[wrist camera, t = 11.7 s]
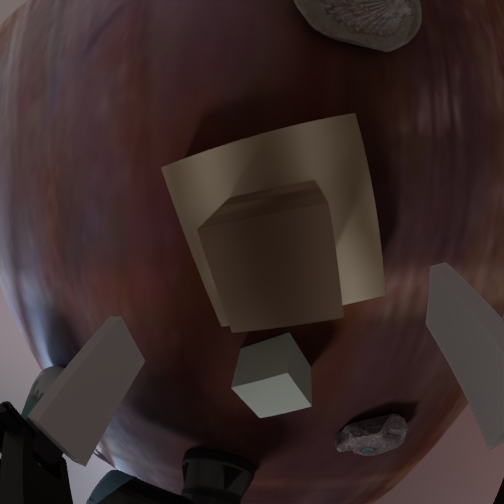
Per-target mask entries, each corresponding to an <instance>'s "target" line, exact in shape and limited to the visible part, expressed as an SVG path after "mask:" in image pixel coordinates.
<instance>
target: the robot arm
mask: <svg viewBox="0 0 504 504" xmlns="http://www.w3.org/2000/svg"><path fill="white" fill-rule="evenodd" d="M426 326H427V327H428V329H429V331H430V332H431V334H432V336H433V337H434V339H435V341H436V342H437V344H438V346H439V347H440V349H441V351H442V353H443V354H444V356H445V358H446V360H447V362H448V363H449V365H450V367H451V369H452V371H453V373H454V375H455V377H456V378H457V380H458V382H459V384H460V386H461V388H462V390H463V392H464V394H465V396H466V398H467V400H468V403H469V405H470V407H471V409H472V411H473V413H474V416H475V418H476V420H477V422H478V425H479V427H480V429H481V432H482V434H483V437H484V439H485V442H486V444H487V447H488V450H491V449H493V448H494V447H496V446H498V445H500V444H501V443H503V442H504V320H503V319H502V318H501V317H500V316H499V315H498V314H497V313H496V312H495V311H494V309H493V308H492V307H491V306H490V305H489V304H488V303H487V302H486V301H485V300H484V299H483V298H482V297H481V296H480V295H479V294H478V293H477V292H476V291H475V290H474V289H473V288H472V287H471V286H470V285H469V284H468V283H467V282H466V281H465V280H464V279H463V278H462V277H461V276H460V275H459V274H458V273H457V272H456V271H455V270H454V269H453V268H451V267H450V266H449V265H448V264H447V263H446V262H445V263H441V264H437V265H433V266H430V276H429V293H428V305H427V315H426ZM144 363H145V360H144V358H143V356H142V354H141V353H140V351H139V349H138V347H137V345H136V344H135V342H134V340H133V338H132V336H131V334H130V332H129V331H128V329H127V327H126V325H125V323H124V321H123V319H122V317H121V316H114V317H109V318H108V319H107V320H106V321H105V322H104V324H103V325H102V326H101V327H100V328H99V329H98V330H97V331H96V333H95V334H94V335H93V336H92V337H91V338H90V339H89V341H88V342H87V343H86V344H85V345H84V346H83V347H82V349H81V350H80V351H79V352H78V353H77V354H76V356H75V357H74V358H73V359H72V360H71V362H70V363H69V364H68V365H67V366H66V368H65V369H64V370H63V371H62V373H61V374H60V375H59V376H58V377H57V379H56V380H55V381H54V382H53V384H52V385H51V386H50V387H49V389H48V390H47V391H46V393H45V394H44V395H43V396H42V398H41V399H40V400H39V402H38V403H37V404H36V406H35V407H34V408H33V409H32V411H31V412H30V413H29V415H28V418H27V419H26V420H25V419H24V418H23V417H22V416H21V415H20V414H19V413H18V411H17V410H16V409H15V408H14V407H13V406H12V404H11V403H10V402H8V401H6V402H3V403H1V404H0V453H1V454H2V456H1V459H0V504H73V501H72V495H71V490H70V484H69V478H68V471H67V465H66V464H67V463H66V460H65V459H64V458H63V457H62V455H63V453H64V454H65V455H67V456H68V457H69V458H70V459H71V460H72V461H74V462H76V463H79V464H81V465H83V466H86V465H87V463H88V461H89V459H90V457H91V455H92V454H93V452H94V450H95V448H96V446H97V444H98V443H99V441H100V439H101V437H102V435H103V433H104V432H105V430H106V428H107V426H108V425H109V423H110V421H111V419H112V417H113V416H114V414H115V412H116V410H117V409H118V407H119V405H120V403H121V402H122V400H123V398H124V396H125V395H126V393H127V391H128V390H129V388H130V386H131V384H132V383H133V381H134V379H135V378H136V376H137V374H138V373H139V371H140V369H141V368H142V366H143V364H144ZM182 472H183V489H182V493H181V495H178V494H175V493H172V492H169V491H167V490H164V489H161V488H159V487H156V486H154V485H151V484H149V483H147V482H144V481H142V480H140V479H138V478H137V477H135V476H131V475H129V474H126V473H124V472H122V471H119V470H111V471H109V472H108V473H107V474H106V475H105V476H104V477H103V478H102V479H101V480H100V482H99V483H98V484H97V486H96V487H95V489H94V490H93V492H92V493H91V496H90V497H89V499H88V500H87V502H86V504H240V503H241V499H242V497H243V495H244V494H245V492H246V491H247V489H248V487H249V486H250V484H251V482H252V481H253V479H254V474H255V467H254V466H253V465H252V464H251V463H249V462H248V461H246V460H244V459H242V458H239V457H236V456H233V455H230V454H226V453H222V452H216V451H210V450H191V451H188V452H186V453H185V455H184V458H183V461H182ZM493 504H504V479H503V481H502V484H501V486H500V489H499V492H498V494H497V496H496V498H495V501H494V503H493Z"/></svg>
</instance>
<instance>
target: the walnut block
mask: <svg viewBox="0 0 504 504" xmlns="http://www.w3.org/2000/svg"><path fill="white" fill-rule="evenodd" d="M197 232H198V235H199V238H200V241H201V244H202V247H203V250H204V253H205V257H206V260H207V263H208V266H209V269H210V272H211V275H212V278H213V280H214V283H215V286H216V289H217V292H218V295H219V298H220V301H221V304H222V306H223V309H224V312H225V315H226V318H227V320H228V323H229V326H230V329H231V331H232V333H236V332H246V331H255V330H264V329H272V328H280V327H287V326H295V325H301V324H308V323H315V322H321V321H327V320H333V319H339V318H344V317H343V306H342V296H341V287H340V278H339V270H338V262H337V254H336V247H335V240H334V233H333V227H332V221H331V215H330V209H329V203H328V201H327V199H326V198H325V196H324V194H323V193H322V191H321V189H320V187H319V186H318V184H317V182H316V181H315V180H311V181H306V182H300V183H295V184H290V185H285V186H280V187H276V188H271V189H266V190H261V191H257V192H252V193H248V194H243V195H239V196H235V197H230V198H228V199H227V200H226V201H225V202H224V203H223V204H222V205H221V206H220V207H219V208H218V209H217V210H216V211H215V212H214V213H213V214H212V215H211V216H210V217H209V218H208V219H207V220H206V221H205V222H204V223H203V224H202V225H201V226H200V227H199V228H198V229H197Z"/></svg>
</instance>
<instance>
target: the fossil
mask: <svg viewBox="0 0 504 504" xmlns="http://www.w3.org/2000/svg"><path fill="white" fill-rule="evenodd" d="M294 3H295V5H296V7H297V8H298V10H299V11H300V12H301V14H302V15H303V16H304V17H305V18H306V20H307V22H308V23H309V24H310V25H311V26H312V27H313V28H314V29H315V30H316V31H318V32H319V33H321V34H322V35H324V36H326V37H328V38H331V39H334V40H337V41H341V42H345V43H349V44H353V45H358V46H362V47H366V48H370V49H375V50H381V51H383V52H390V51H393V50H395V49H397V48H399V47H401V46H403V45H405V44H407V43H408V42H409V41H410V40H411V39H412V38H413V37H414V36H415V35H416V34H417V32H418V30H419V28H420V25H421V21H422V11H421V4H420V1H419V0H294Z"/></svg>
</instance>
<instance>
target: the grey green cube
mask: <svg viewBox="0 0 504 504" xmlns="http://www.w3.org/2000/svg"><path fill="white" fill-rule="evenodd" d="M231 388H232V389H233V390H234V391H235V392H236V394H237V395H238V396H239V397H240V398H241V399H242V400H243V401H244V402H245V403H246V404H247V405H248V406H249V407H250V408H251V409H252V410H253V411H254V412H255V414H256V415H257V416H258V417H259V418H264V417H269V416H273V415H278V414H283V413H287V412H291V411H295V410H299V409H303V408H307V407H311V406H312V392H311V366H310V365H309V363H308V362H307V360H306V358H305V357H304V355H303V354H302V352H301V350H300V349H299V347H298V345H297V344H296V342H295V341H294V339H293V337H292V336H291V334H290V332H288V333H285V334H282V335H280V336H277V337H274V338H271V339H268V340H265V341H262V342H259V343H256V344H253V345H250V346H247V347H244V348H241V349H240V353H239V357H238V361H237V365H236V369H235V373H234V377H233V381H232V385H231Z"/></svg>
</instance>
